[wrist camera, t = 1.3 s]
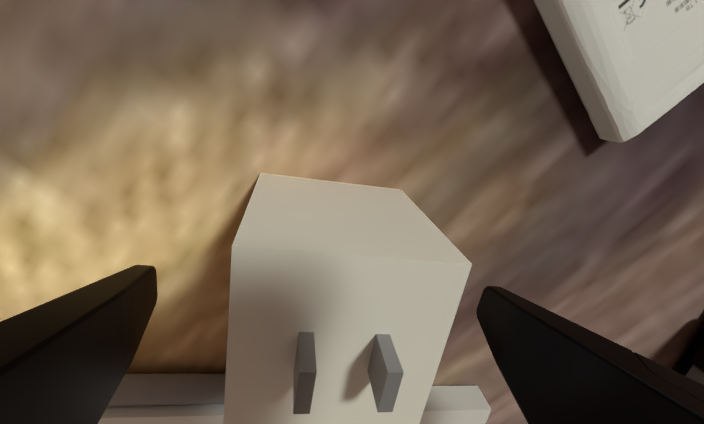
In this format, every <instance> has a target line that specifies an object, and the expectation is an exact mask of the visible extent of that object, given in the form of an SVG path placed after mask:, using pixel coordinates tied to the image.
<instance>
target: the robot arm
mask: <svg viewBox="0 0 704 424" xmlns="http://www.w3.org/2000/svg"><path fill="white" fill-rule="evenodd" d="M156 301H157V275H156V269H155V267H154V266H147V265H135V266H132V267H130V268H127V269H125V270H123V271H120V272H118V273H116V274H113V275H111V276H108V277H106V278H104V279H101V280H99V281H97V282H94V283H92V284H89V285H87V286H85V287H82V288H80V289H77V290H75V291H73V292H70V293H68V294H66V295H63V296H61V297H58V298H56V299H54V300H51V301H49V302H47V303H44V304H42V305H39V306H37V307H35V308H32V309H30V310H27V311H25V312H23V313H20V314H18V315H16V316H13V317H11V318H8V319H6V320H4V321H1V322H0V424H98V422H99V421H100V419H101V417H102V415H103V413H104V412H105V410H106V408H107V406H108V404H109V403H110V401H111V399H112V397H113V395H114V394H115V392H116V390H117V388H118V386H119V384H120V383H121V381H122V379H123V377H124V375H125V374H126V372H127V370H128V368H129V366H130V364H131V362H132V360H133V358H134V356H135V353H136V351H137V349H138V346H139V344H140V341H141V339H142V336H143V334H144V332H145V329H146V327H147V324H148V322H149V319H150V317H151V314H152V312H153V310H154V307H155V305H156ZM477 318H478V320H479V323H480V325H481V328H482V330H483V332H484V335H485V337H486V340H487V342H488V345H489V347H490V349H491V352H492V354H493V357H494V359H495V361H496V363H497V365H498V367H499V369H500V371H501V373H502V375H503V377H504V379H505V381H506V383H507V385H508V387H509V389H510V390H511V392H512V394H513V396H514V398H515V400H516V402H517V404H518V406H519V408H520V409H521V411H522V413H523V415H524V417H525V419H526V421H527V423H528V424H704V329H703V330H702V332H701V333H700V335H699V337H698V338H697V340H696V341H695V343H694V344H693V346H692V347H691V349H690V350H689V352H688V354H687V355H686V357H685V358H684V360H683V361H682V363H681V364H680V366H679V367H678V369H677V371H676V372H675V371H673V370H671V369H669V368H667V367H664V366H662V365H660V364H658V363H656V362H654V361H652V360H650V359H648V358H646V357H644V356H642V355H639V354H637V353H633V352H632V351H631V350H629V349H627V348H625V347H623V346H621V345H619V344H617V343H615V342H613V341H611V340H608V339H606V338H604V337H602V336H600V335H598V334H596V333H594V332H592V331H590V330H588V329H586V328H584V327H582V326H580V325H578V324H576V323H573V322H571V321H569V320H567V319H565V318H563V317H561V316H559V315H557V314H555V313H553V312H551V311H549V310H547V309H545V308H543V307H540V306H538V305H536V304H534V303H532V302H530V301H528V300H526V299H524V298H522V297H520V296H518V295H516V294H514V293H512V292H510V291H508V290H505V289H503V288H501V287H496V286H487V287H486V288H485V289H484V290H483V293H482V296H481V298H480V301H479V304H478V307H477Z"/></svg>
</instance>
